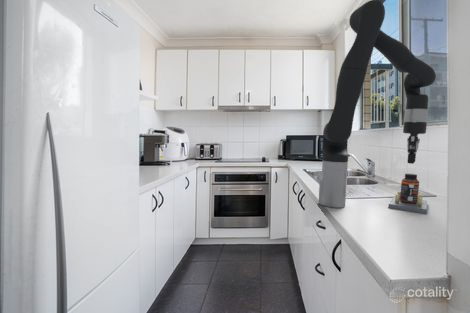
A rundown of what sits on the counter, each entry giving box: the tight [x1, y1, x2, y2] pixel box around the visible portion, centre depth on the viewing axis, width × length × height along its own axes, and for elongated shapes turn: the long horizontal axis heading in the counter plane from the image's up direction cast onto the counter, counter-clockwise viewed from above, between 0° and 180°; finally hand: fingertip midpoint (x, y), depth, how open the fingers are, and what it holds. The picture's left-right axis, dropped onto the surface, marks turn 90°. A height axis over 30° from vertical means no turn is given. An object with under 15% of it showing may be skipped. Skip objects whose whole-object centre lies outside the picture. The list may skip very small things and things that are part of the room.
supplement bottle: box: [400, 172, 420, 204], centre depth 108 cm, size 6×6×11 cm
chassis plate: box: [388, 191, 428, 214], centre depth 108 cm, size 12×18×4 cm, turn 145°
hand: (411, 162), depth 107 cm, fingers open, 8 cm apart
